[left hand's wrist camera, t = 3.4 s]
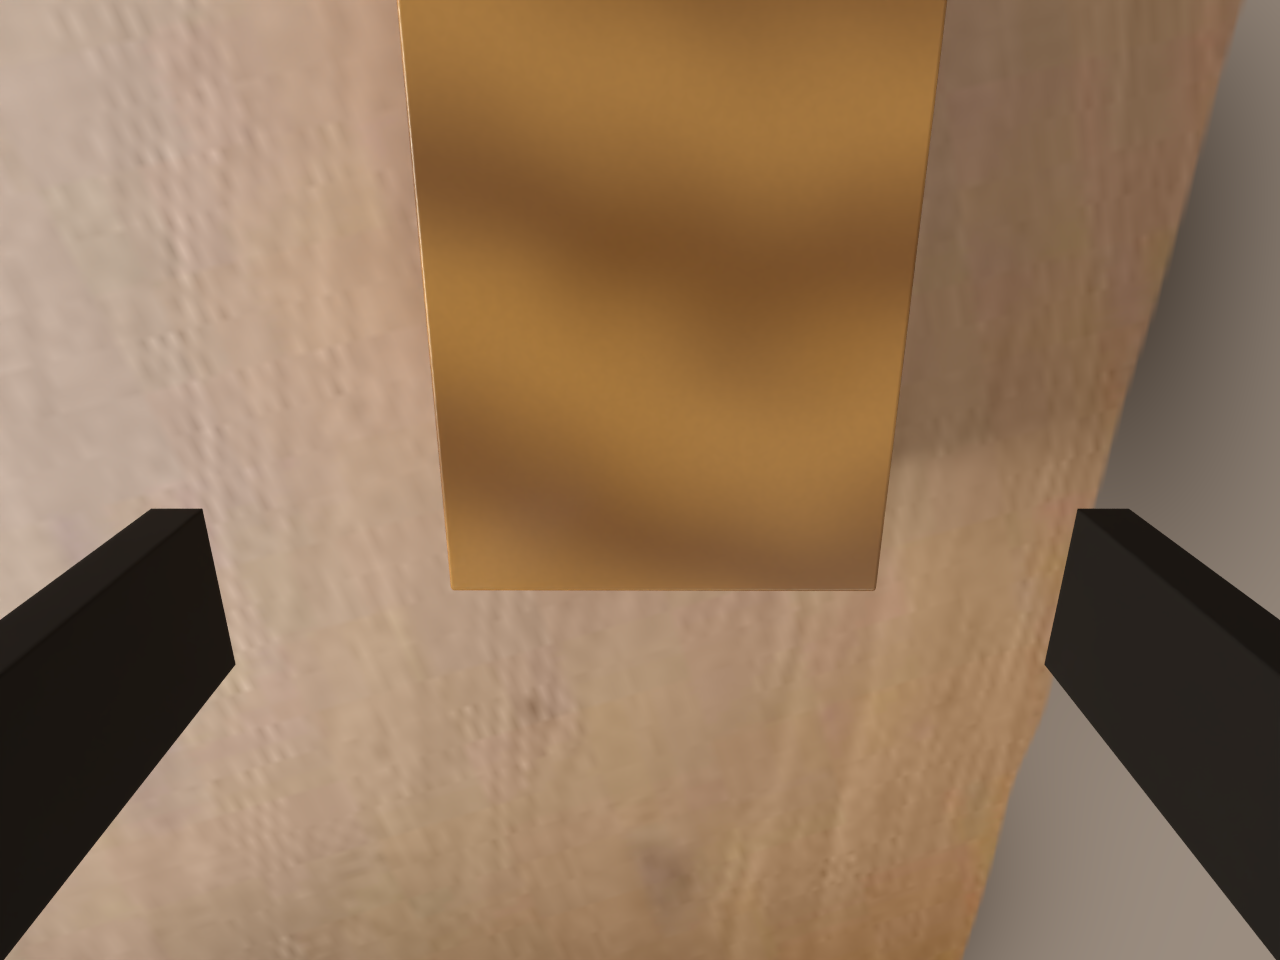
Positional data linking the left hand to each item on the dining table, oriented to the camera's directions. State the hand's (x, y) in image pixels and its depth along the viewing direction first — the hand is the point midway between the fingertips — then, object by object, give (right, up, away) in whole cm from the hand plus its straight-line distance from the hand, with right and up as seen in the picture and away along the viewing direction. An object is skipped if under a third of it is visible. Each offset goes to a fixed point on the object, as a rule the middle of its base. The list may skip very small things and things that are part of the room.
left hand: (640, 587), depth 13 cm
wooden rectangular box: (+1, +11, +14) cm, 17 cm away
